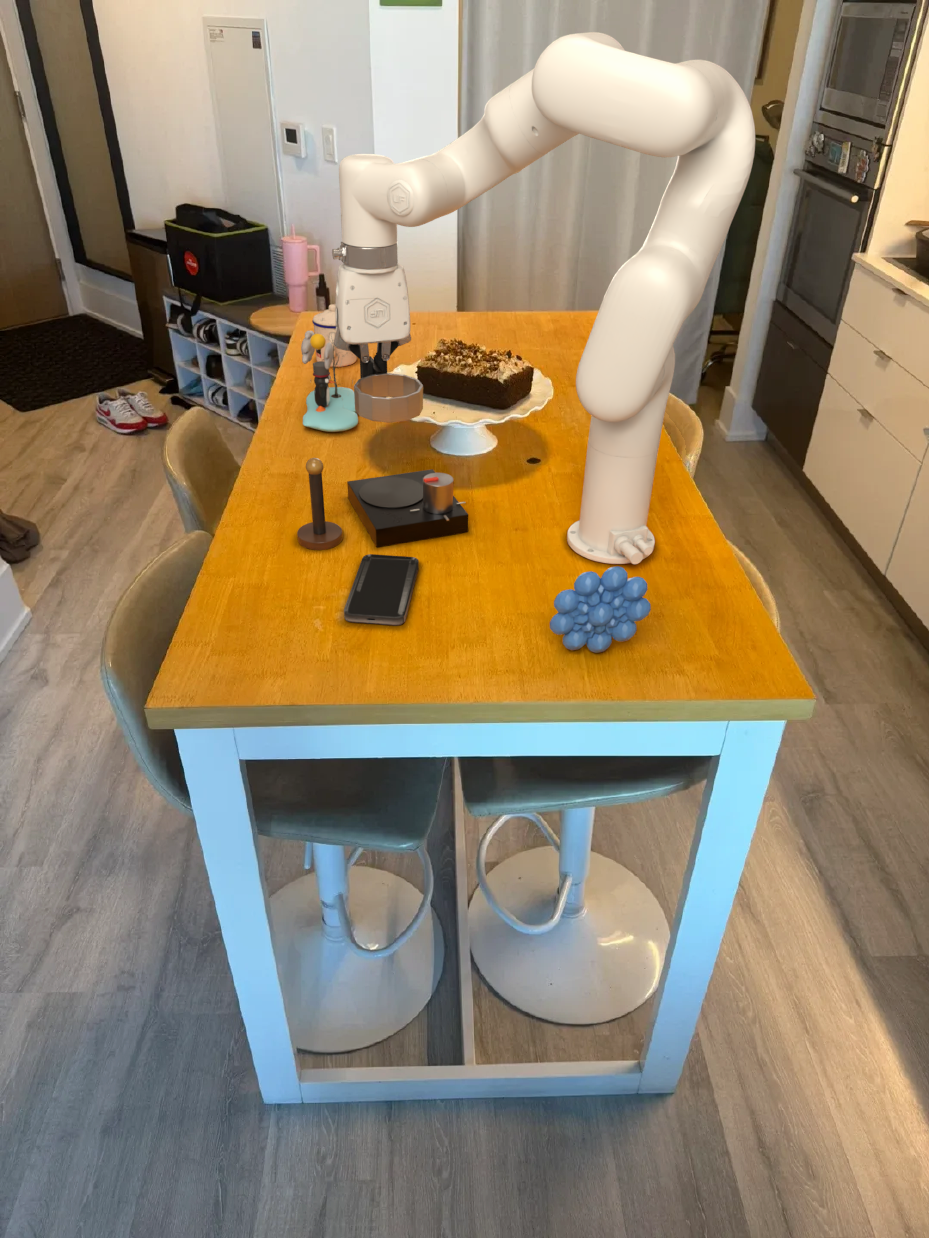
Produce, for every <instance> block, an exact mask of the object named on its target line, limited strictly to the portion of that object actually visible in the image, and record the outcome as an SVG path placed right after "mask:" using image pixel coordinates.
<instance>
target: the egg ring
mask: <svg viewBox="0 0 929 1238" xmlns="http://www.w3.org/2000/svg"><path fill="white" fill-rule="evenodd" d="M369 356H370V355H369ZM370 358H371V361H372V363H373V375H369V376H366V377H364V378H361V377H360V378H359V379H358V380H357V381H356V382H355V383H354V384H353V391H354V399H355V410H356V412H355V413H356V414H357V415H358V416H359V417H361V418H363V419H365V420H369V421H371V422H379V423H390V424H391V423H399V422H400V423H401V422H408V421H411V420H413V419H414V418H417V417H419V416H420V415H421V413H422V412H423V410H424V385H423V384H422V382H421V381H420V380H419V379H418V378H416V377H412V376H409V375H407V374H402V373H401V374H400V373H390V372H387V373H384V374H383V370H382V369H381V368H380V367H379V366H378V365H377V363H376V362H375V361H374V357H372V356H370Z"/></svg>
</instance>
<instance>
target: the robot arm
mask: <svg viewBox="0 0 929 1238" xmlns="http://www.w3.org/2000/svg"><path fill="white" fill-rule="evenodd" d="M755 126H756V125H755V119H754V116H753V111H752V108H751V105H750V102H749V100H748V98H747V96H746V93H745V92H744V90H743V89H742V87H741V86H740V84H739V83H738V82H737V80H736V79H735V78H734V77H733V75H731V74H730V72H728V71H727V70H726V69H725V68H724V67H722V66H721V65H719V64H717V63H716V62H712V61H710V60H705V59H689V60H685V61H681V62H677V63H674V62H669V61H665V60H662V59H658V58H653V57H650V56H646V55H642V54H639V53H636V52H635V53H634V52H630V51H628V50H626V49H624V47H623V45H621V43H620V42H619V41H618V40H617V39H615V38H614V37H613V36H611V35H610V34H607V33H603V32H598V31H589V32H578V33H576V32H575V33H570V34H566V35H562V36H560V37H558V38H557V39H555V40H553V41H552V42H551V43H550V44H549V45H547V47H545V48H544V50H542V52H541V53H540V55H539V57H538V59H537V60H536V62H535V65H534V68H532V69H531V70H529V71H528V72H526V73H525V74H524V75H522V76H520V77H519V78H518V79H517V80H515V81H514V82H511V83H510V84H509V85H507V86H506V87H505V88H503V89H501V90H500V91H499V92H497V93H496V94H494V95H493V96H491V97H490V98H489V100H488V101H487V102H486V104H485V105H484V113H483V116H482V117H481V118H480V120H479V121H478V122H476V124H474V125H473V126H472V127H471V128H470V129H469V130H467V131H466V132H465V133H463V134H462V135H460V136H458V137H457V138H456V139H454V140H453V141H452V142H450V143H449V144H447V145H446V146H444V147H442V148H441V149H439V150H437V151H436V152H434V153H432V154H429V155H424V156H421V157H417V158H414V159H413V158H412V159H411V160H407V161H403V162H397V163H396V162H394V160H393V159H392V158H390V157H389V156H386V155H382V154H373V153H358V154H357V153H356V154H350V155H346V156H345V157H344V158H342V159H341V160H340V163H339V166H338V183H339V203H340V204H339V205H340V224H341V241H340V246H339V247H337V248H332V250H331V256H332V260H338V261H341V262H342V264H340V265H338V270H337V275H336V285H335V286H336V287H335V302H334V304H335V322H336V330H337V331H336V335H335V338H334V345H335V347H336V348H338V349H341V350H346V351H351V352H352V353H353V354H355V355H356V356H357V359H359V372H360V373H359V377H360V379H361V378H364V377H366V376H369V375H373V363H372V361H371V358H370V349H369V344H376V352H375V354H374V356H373V359H374V361H375V362H376V363H377V365H378V366H379V367H380V368H381V369H382V370H383V374H384V373H388V361H389V360H390V359H391V355H392V354H393V353H394V352H395V351H396V350H397V349H398V348H399V347H401V346H404V345H406V344H408V343H411V341H412V336H411V310H410V299H409V298H410V297H409V290H408V282H407V277H406V270H405V266H404V265H402V264H400V263H399V260H398V259H399V258H398V257H399V256H398V255H399V254H398V253H399V252H398V247H399V246H398V226H401V227H406V228H415V227H416V228H417V227H420V226H423V225H425V224H428V223H430V222H433V221H435V220H437V219H440V218H442V217H444V216H448V215H451V214H452V213H454V212H457V210H459V209H461V208H462V207H465V206H466V205H468V204H469V203H471V202H472V201H474V200H476V199H477V198H479V197H480V196H482V195H484V194H485V193H486V192H488V191H489V190H492V189H493V188H494V187H495V186H497V185H499V184H500V183H502V182H504V181H505V180H507V179H508V178H510V177H511V176H513V175H515V174H516V175H517V174H518V173H520V172H522V170H524V169H525V168H526V167H528V166H530V165H532V164H533V163H534V162H536V161H538V160H539V159H541V158H542V157H544V156H545V155H548V153H549V152H551V151H553V150H554V149H556V148H558V147H559V146H561V145H563V144H564V143H566V142H567V141H569V140H571V139H573V138H574V137H576V136H578V135H579V134H580V135H581V136H585V137H588V138H591V139H595V140H598V141H601V142H605V143H607V144H608V143H609V144H611V145H614V146H618V147H621V148H624V149H627V150H631V151H634V152H637V153H640V154H644V155H648V156H652V157H656V158H676V157H677V160H676V163H675V167H674V170H673V173H672V175H671V177H670V179H669V181H668V184H667V185H666V188H665V190H664V192H663V194H662V197H661V199H660V202H659V205H658V209H657V212H656V214H655V217H654V219H653V221H652V224H651V227H650V229H649V231H648V232H647V233H648V234H647V236H646V238H645V240H644V242H643V244H642V246H641V247H640V249H639V250H638V251H637V252H636V253H635V254H634V255H632V256H631V257H630V258H629V259H627V260H626V261H625V262H624V263H623V264H622V265H621V266H620V268H619V269H618V270H617V271H616V273H615V274H614V276H613V277H612V279H611V281H610V283H609V284H608V287H607V289H606V291H605V294H604V296H603V298H602V301H601V304H600V305H599V306H600V307H599V309H598V311H597V315H596V317H595V320H594V322H593V325H592V328H591V330H590V333H589V335H588V338H587V341H586V343H585V346H584V349H583V351H582V352H583V353H582V354H581V357H580V360H579V363H578V366H577V370H576V374H575V389H576V394H577V397H578V400H579V402H580V404H581V406H582V407H583V409H584V410H585V411H586V412H587V413H588V414H589V415H590V423H589V432H588V439H587V448H586V457H585V466H584V476H583V483H582V484H583V486H582V494H581V503H580V512H579V520H577V521H575V522H573V523H572V524H571V525H570V527H569V528H568V530H567V534H566V541H567V544H568V546H569V547H570V549H572V550H573V551H574V553H576V554H578V555H579V556H580V557H583V558H586V559H588V560H590V561H593V562H597V563H601V564H610V565H625V564H632V565H638V564H639V563H641V562H642V561H643V560H644V559H646V558H648V557H649V556H650V555H651V554H652V553H653V552H654V549H655V543H656V539H655V536H654V534H653V532H652V531H651V530H650V529H649V527H648V526H647V524H648V519H649V511H650V504H651V499H652V493H653V492H652V491H653V486H654V478H655V472H656V467H657V460H658V453H659V448H660V443H661V436H662V430H663V425H664V418H665V413H666V409H667V406H668V405H667V404H668V400H669V396H670V391H671V387H672V383H673V379H674V374H675V367H676V353H675V348H674V344H675V341H676V339H677V337H678V335H679V332H680V330H681V328H682V327H683V324H684V322H685V321H686V319H688V317H689V316H690V315H691V314H692V313H693V312H694V310H695V309H696V307H697V306H698V304H699V303H700V301H701V299H702V297H703V295H704V292H705V288H706V286H707V283H708V280H709V279H710V278H709V277H710V275H711V272H712V270H713V268H714V266H715V263H716V261H717V258H718V256H719V254H720V252H721V249H722V247H723V245H724V242H725V240H726V238H727V235H728V233H729V230H730V228H731V224H732V222H733V220H734V217H735V215H736V212H737V210H738V208H739V206H740V203H741V201H742V198H743V196H744V193H745V190H746V188H747V185H748V182H749V179H750V176H751V172H752V168H753V163H754V160H755V159H754V158H755V151H756V129H755V128H756V127H755Z"/></svg>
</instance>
